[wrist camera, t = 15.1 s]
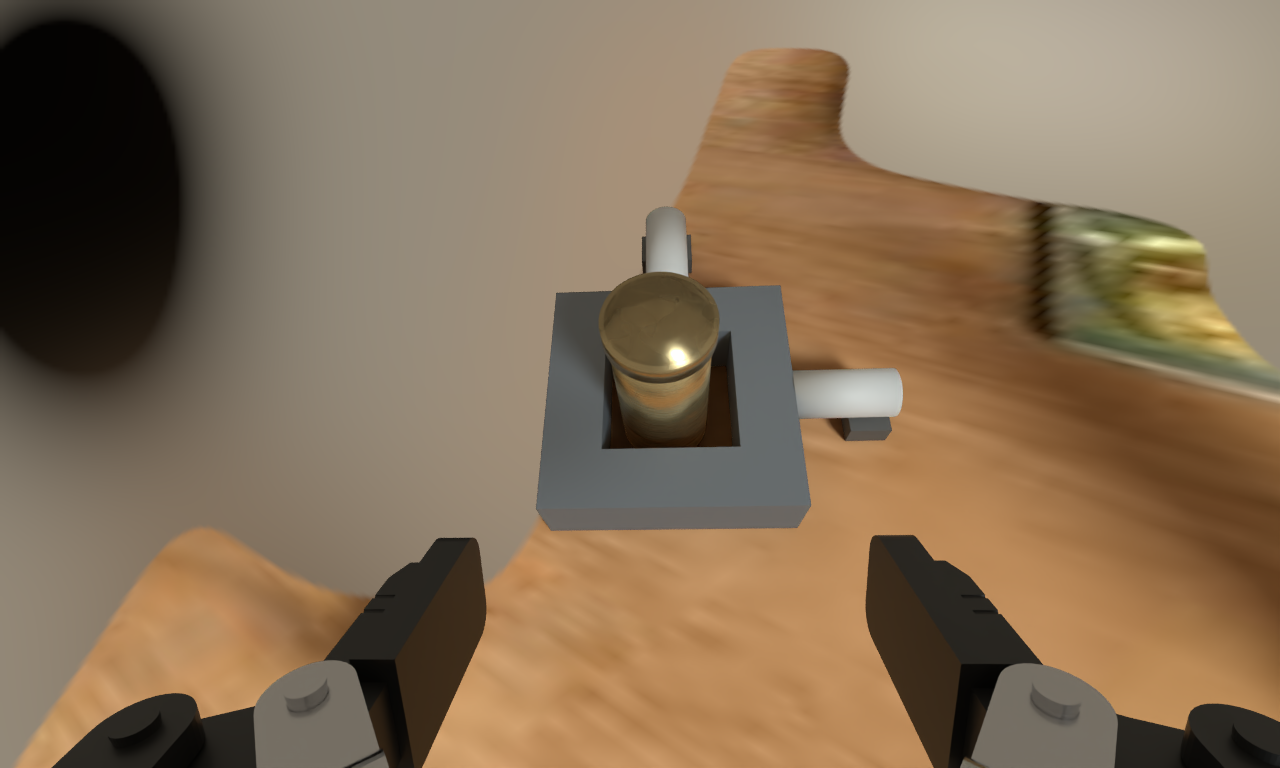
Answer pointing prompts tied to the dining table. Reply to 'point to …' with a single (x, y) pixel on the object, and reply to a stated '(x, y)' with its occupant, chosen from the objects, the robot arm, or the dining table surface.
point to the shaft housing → (699, 476)
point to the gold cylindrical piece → (661, 356)
